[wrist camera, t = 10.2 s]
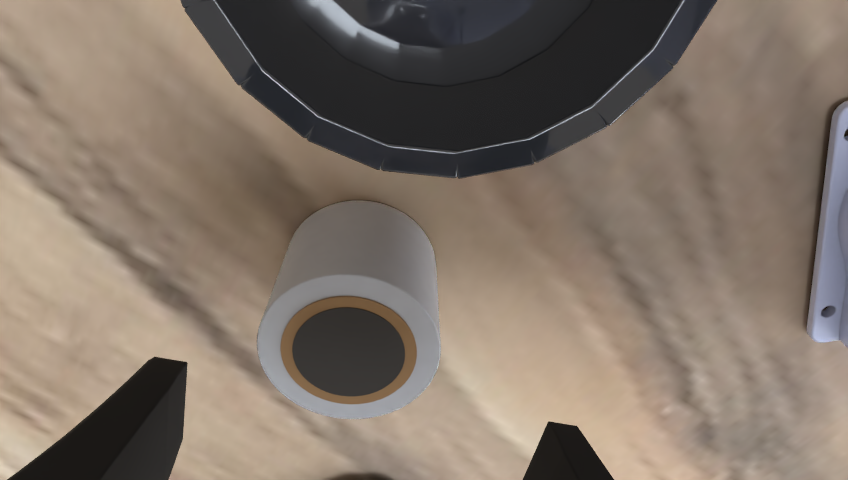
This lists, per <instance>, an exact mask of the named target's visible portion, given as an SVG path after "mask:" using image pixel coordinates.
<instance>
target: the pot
mask: <svg viewBox="0 0 848 480" xmlns="http://www.w3.org/2000/svg"><path fill="white" fill-rule="evenodd" d="M716 2H717V0H181V3H182V6H183V7H184V8H185V12H186V13H187V15H188V16H189V17H190V19H191V20H192V22H193V23H194V24H195V26H196V27H197V29H198V30H199V31H200V33H201V34H202V36H203V37H204V38H205V40H206V41H207V43H208V44H209V45H210V47H211V48H212V50H213V51H214V52H215V54H216V55H217V57H218V58H219V59H220V61H221V62H222V64H223V65H224V66H225V68H226V69H227V71H228V72H229V73H230V75H231V76H232V78H233V79H234V81H235V82H236V83H237V84H238V85H241V87H242V89H244V90H245V91H246V92H247V93H249V94H250V95H251V96H252V97H254V98H255V99H256V100H257V101H259V102H260V103H261V104H262V105H263V106H265V107H266V108H267V109H268V110H270V111H271V112H272V113H273V114H275V115H276V116H277V117H278V118H280V119H281V120H282V121H283V122H285V123H286V124H287V125H288V126H290V127H291V128H292V129H293V130H295V131H296V132H297V133H298V134H299V135H301V136H302V137H303V138H307V140H308V141H309V142H312V143H314V144H317V145H319V146H321V147H324V148H326V149H329V150H331V151H334V152H336V153H338V154H341V155H343V156H346V157H348V158H350V159H353V160H355V161H358V162H360V163H362V164H365V165H367V166H370V167H372V168H374V169H377V170H380V169H381V170H383V171H389V172H399V173H409V174H418V175H428V176H438V177H447V178H456V177H458V178H459V179H460V178H466V177H471V176H476V175H482V174H487V173H492V172H497V171H503V170H508V169H513V168H519V167H524V166H529V165H533V164H534V162H535V163H537V162H540V161H542V160H544V159H546V158H548V157H550V156H552V155H554V154H555V153H557V152H559V151H561V150H563V149H565V148H567V147H569V146H571V145H573V144H575V143H577V142H579V141H581V140H583V139H585V138H587V137H589V136H591V135H593V134H595V133H597V132H599V131H601V130H603V129H605V128H606V127H607V125H608V126H610V125H611V124H612V123H614V122H615V121H616V120H617V119H618V118H619V117H620V116H621V115H622V114H623V113H624V112H626V111H627V110H628V109H629V108H630V107H631V106H632V105H633V104H634V103H635V102H637V101H638V100H639V99H640V98H641V97H642V96H643V95H644V94H645V93H646V92H648V91H649V90H650V89H651V88H652V87H653V86H654V85H655V84H656V83H657V82H659V81H660V80H661V79H662V78H663V77H664V76H665V75H666V74H667V73H668V72H669V71H671V70H672V69H673V65H676V64H677V62H678V61H679V59H680V58H681V56H682V54H683V53H684V51H685V50H686V48H687V47H688V45H689V44H690V42H691V40H692V39H693V37H694V36H695V34H696V33H697V31H698V30H699V28H700V26H701V25H702V23H703V22H704V20H705V19H706V17H707V16H708V14H709V12H710V11H711V9H712V8H713V6H714V5H715V3H716Z"/></svg>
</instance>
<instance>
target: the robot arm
mask: <svg viewBox="0 0 848 480" xmlns="http://www.w3.org/2000/svg"><path fill="white" fill-rule="evenodd" d="M847 129H848V101H845V102H843V103H842V104H840V105H839V106H838V107H837V108H836V110H835V111H834V113H833V116H832V121H831V129H830V138H829V146H828V154H827V163H826V171H825V180H824V188H823V196H822V205H821V213H820V221H819V230H818V238H817V247H816V255H815V263H814V272H813V280H812V289H811V297H810V305H809V314H808V322H807V334H808V335H809V336H810V337H811V338H812V339H813V340H814V341H815V342H818V343H823V342H830V341H836V340H841V341H842V342H843V344H844V345H845V346H846V347H847V348H848V136H846V137H844V134H845V131H846V130H847ZM827 306H829V307H828V308H827V309H826V310H823V309H824V308H825V307H827ZM822 310H823V311H822ZM186 377H187V362H183V361H176V360H170V359H164V358H158V357H154V358H152V359H150V360H148V361H147V362H146V363H145V364H144V365H143V366H142V367H141V368H140V369H139V370H138V371H137V372H136V373H135V374H134V375H133V376H132V377H131V378H130V379H129V380H128V381H127V382H125V383H124V384H123V385H122V386H121V387H120V388H119V389H118V390H117V391H116V392H115V393H114V394H112V395H111V396H110V397H109V398H108V399H107V400H106V401H105V402H104V403H102V404H101V405H100V406H99V407H98V408H97V409H96V410H94V411H93V412H92V413H91V414H90V415H89V416H87V417H86V418H85V419H84V420H83V421H81V422H80V423H79V424H78V425H77V426H76V427H74V428H73V429H72V430H71V431H70V432H68V433H67V434H66V435H65V436H64V437H62V438H61V439H60V440H59V441H57V442H56V443H55V444H54V445H52V446H51V447H50V448H48V449H47V450H46V451H44V452H43V453H42V454H41V455H39V456H38V457H37V458H35V459H34V460H33V461H32V462H30V463H29V464H28V465H26V466H25V467H24V468H22V469H21V470H20V471H19V472H17V473H16V474H14V475H13V476H12V477H10V478H9V479H7V480H168V479H169V477H170V474H171V471H172V468H173V465H174V463H175V460H176V457H177V454H178V451H179V448H180V445H181V442H182V440H183V426H184V410H185V393H186ZM523 480H614V479H613V478H612V476H611V475H610V473H609V472H608V470H607V469H606V467H605V466H604V465H603V463H602V462H601V460H600V459H599V457H598V456H597V454H596V453H595V451H594V450H593V448H592V447H591V446H590V444H589V443H588V441H587V440H586V438H585V437H584V435H583V434H582V433H581V431H580V430H579V428H578V427H577V426H573V425H567V424H561V423H554V422H548V424H547V426H546V428H545V431H544V433H543V435H542V437H541V440H540V442H539V444H538V446H537V449H536V451H535V453H534V455H533V458H532V460H531V462H530V465H529V467H528V469H527V471H526V474H525V476H524V478H523Z"/></svg>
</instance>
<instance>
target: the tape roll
mask: <svg viewBox="0 0 848 480" xmlns="http://www.w3.org/2000/svg"><path fill="white" fill-rule="evenodd" d="M257 350H258V356H259V359H260V362H261V365H262V368H263V370H264V372H265V374H266V375H267V377H268V378H269V380H270V381H271V383H272V384H273V385H274V386H275V387H276V388H277V389H278V390H279V391H280V392H281V393H282V394H283V395H284V396H285V397H287V398H288V399H290V400H291V401H293V402H294V403H296V404H297V405H299V406H301V407H303V408H305V409H307V410H310V411H312V412H315V413H318V414H321V415H325V416H329V417H335V418H343V419H364V418H372V417H377V416H382V415H385V414H388V413H391V412H393V411H396V410H398V409H400V408H402V407H404V406H406V405H407V404H409V403H410V402H412V401H413V400H414V399H416V398H417V397H418V396H419V395H420V394H421V393H422V392H423V391H424V390H425V389H426V388H427V386H428V385H429V384H430V382H431V381H432V379H433V377H434V375H435V373H436V371H437V368H438V365H439V360H440V352H441V344H440V325H439V307H438V288H437V269H436V259H435V253H434V250H433V247H432V245H431V243H430V240H429V238H428V237H427V235H426V234H425V232H424V231H423V230H422V229H421V227H420V226H419V225H418V224H417V223H416V222H415V221H413V220H412V219H411V218H410V217H409V216H407V215H406V214H404V213H403V212H401V211H399V210H397V209H395V208H393V207H390V206H388V205H385V204H381V203H377V202H373V201H364V200H352V201H344V202H340V203H336V204H332V205H329V206H327V207H324V208H322V209H320V210H318V211H317V212H315V213H313V214H312V215H311V216H309V217H308V218H307V219H306V220H305V221H304V222H303V223H302V224H301V225H300V226H299V227H298V229H297V230H296V231H295V233H294V235H293V237H292V239H291V241H290V244H289V246H288V249H287V252H286V255H285V257H284V260H283V263H282V265H281V268H280V271H279V274H278V276H277V279H276V282H275V285H274V287H273V290H272V293H271V295H270V298H269V301H268V304H267V306H266V309H265V312H264V315H263V317H262V320H261V323H260V326H259V329H258V335H257Z"/></svg>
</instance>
